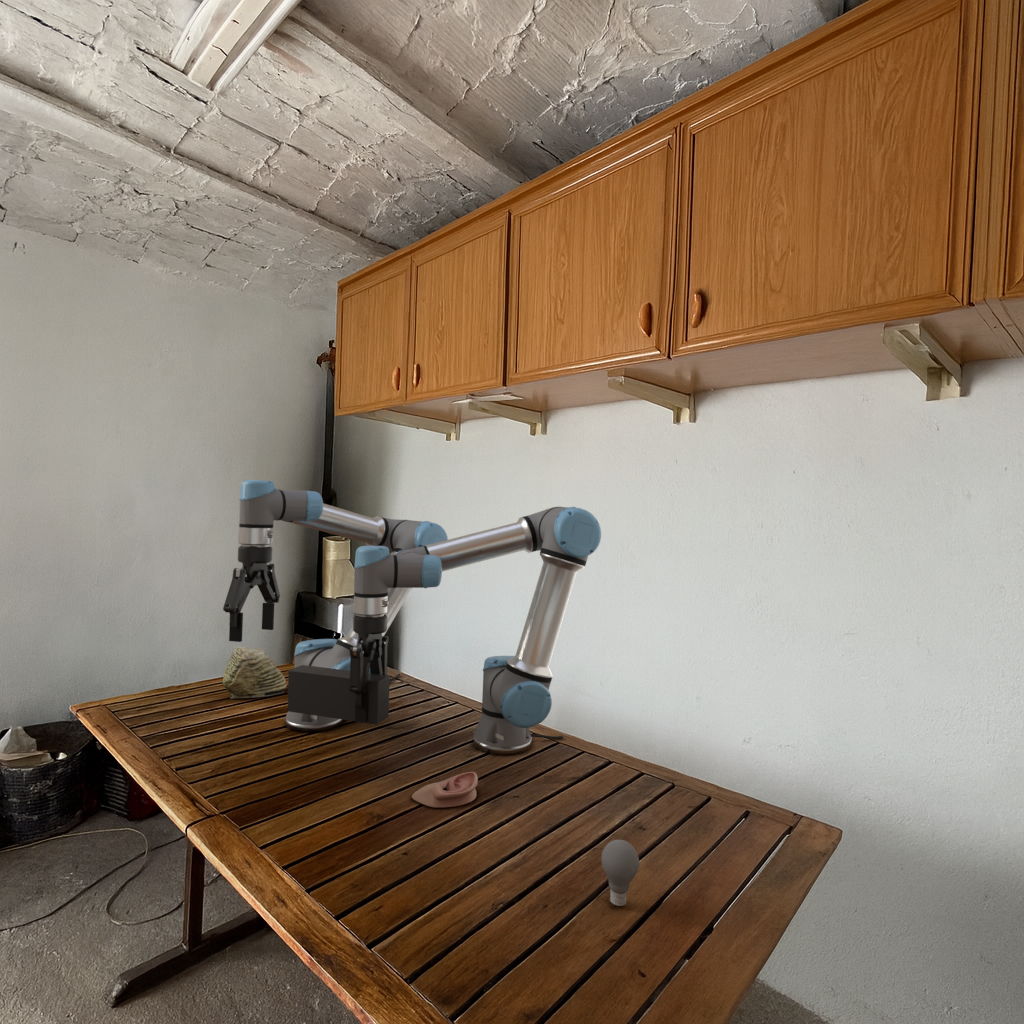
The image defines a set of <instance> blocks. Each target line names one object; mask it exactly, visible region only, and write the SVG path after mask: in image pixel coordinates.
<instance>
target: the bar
mask: <svg viewBox="0 0 1024 1024" xmlns="http://www.w3.org/2000/svg"><path fill="white" fill-rule="evenodd" d="M389 680H390V675H388V674H387V675H380V674H372V673H369V674H368V681H367V687H366V692H368V717H367V721H366V722H362V721H355V695H356V694H355V692H351V691H350V690H349V686H350V671H348V670H339V669H331V668H323V667H315V666H307V665H301V666H299V667H296V668H292V669H289V670H288V682H287V712H288V711H289V712H296V713H302V714H309V715H316V716H323V717H329V718H336V719H343V721H349V722H350V721H351V722H356V723H363V724H371V725H379V724H380V723H382V722H383V721H384V720H386V719H388V718H389V715H390V712H389V711H390V682H389Z"/></svg>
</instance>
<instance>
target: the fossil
mask: <svg viewBox="0 0 1024 1024" xmlns="http://www.w3.org/2000/svg"><path fill="white" fill-rule="evenodd" d="M222 676H223V677H222V685H223V687H224V688H225V690H226V691H228V693H229V698H230V699H250V698H264V697H271V696H275V695H281V694H284V693H285V691H286V689H287V688H288V684H287V680H286V678H285V676H284V674H283V673H282V672H281V669H279V668H278V667H277V665H276V663H275V662H274V660H273V659H272V658H271V657H270V656H269V655H268V654H267V653H266V652H265V650H264V649H263V648H260V647H258V648H251V647H247V646H246V647H245V646H238V647H237V648H236V649H235V650H233V651H232V653H231V656H230V657H229V659H228V660H227V663H226V666H225V668H224V671H223V675H222Z"/></svg>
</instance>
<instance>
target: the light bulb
mask: <svg viewBox="0 0 1024 1024" xmlns="http://www.w3.org/2000/svg"><path fill="white" fill-rule="evenodd" d="M600 858H601V861H600V862H601V866H602V869H603V871H604V873H605V875H606V877H607V879H608V886H609V888H610V897H609V901H610V902H611V904H613V905H614V906H618V907H622V906H625V905H626V904H627V896H628V895H627V893H628V891H629V889H630V885H631V882H632V880H633V879H634V878H635V876H636V875H637V874H638V870H639V868H640V858H639V854H638V852H637V850H636V848H635V847H634V846H633V845H632V844H631V843H630V842H628V841H627V840H624V839H613V840H612V841H609V842H608V843H607V844H606V845H605V847H604V848H603V850H602V852H601V857H600Z"/></svg>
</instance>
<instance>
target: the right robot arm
mask: <svg viewBox="0 0 1024 1024" xmlns="http://www.w3.org/2000/svg"><path fill="white" fill-rule="evenodd" d="M601 540H602V528H601V526H600V523H599V521H598V519H597V517H596V516H595V515H594V514H592V513H591V512H590V511H588V510H586V509H583V508H581V507H577V506H553V507H550V508H545V509H544V510H540V511H538V512H534V513H532V514H529V515H525V516H521V517H519V518H518V520H517V521H516V522H512V523H509V524H505V525H501V526H497V527H493V528H489V529H485V530H481V531H476V532H474V533H469V534H466V535H462V536H457V537H453V538H449V539H448V540H445V541H441V542H437V543H433V544H429V545H426V546H422V547H418V548H414V549H403V550H400V551H399V552H397V553H396V554H395V555H390V553H389V548H388V547H386V546H367V545H361V546H359V547H357V548H356V550H355V558H354V568H353V569H354V570H353V571H354V573H353V575H354V576H353V577H354V580H353V581H354V582H353V613H354V614H355V615H353V617H352V621H353V623H352V624H353V625H352V627H353V631H354V632H355V633H357V634H358V640H357V645H356V646H355V647H350V656H351V662H350V686H349V690H350V691H351V692H355V694H356V695H355V721H354V722H356V721H362V722H361V723H363V722H366V721H367V717H368V692H366V687H367V681H368V674H369V668H370V672H371V673H372V674H380V675H388V645H389V636H387V635H384V636H382V633H384V632H386V631H387V632H388V630H387V615H385V613H387V606H388V604H389V602H388V588H412V589H415V588H416V589H419V588H420V589H428V588H438V587H439V586H440V585H441V582H442V576H443V572H446V571H451V570H454V569H457V568H461V567H466V566H469V565H473V564H477V563H481V562H484V561H488V560H492V559H496V558H499V557H503V556H507V555H511V554H515V553H519V552H522V551H524V552H527V553H529V554H531V553H533V552H534V553H535V552H538V551H539V556H540V558H541V560H542V565H541V570H540V573H539V575H538V578H537V582H536V586H535V590H534V593H533V596H532V598H531V603H530V606H529V609H528V613H527V615H526V619H525V622H524V626H523V628H522V629H523V630H522V633H521V636H520V639H519V642H518V646H517V649H516V653H515V655H494V656H488V657H486V658H485V659H484V661H483V668H482V672H483V673H482V675H483V676H482V695H481V696H482V698H481V715H480V717H479V720H478V722H477V725H476V728H475V731H474V733H473V745H474V747H475V748H476V749H478V750H479V751H482V752H485V753H488V754H492V755H503V756H505V755H516V754H521V753H525V752H527V751H529V749H530V748H531V747H532V738H540V739H548V740H549V739H550V740H561V739H563V738H564V736H563V735H556V736H555V735H554V736H553V735H545V734H538V733H537V734H535V733H531V730H530V728H534V727H536V726H538V725H539V724H541V723H542V722H544V721H545V719H547V717H548V716H549V714H550V712H551V709H552V704H553V701H552V695H551V692H550V687H551V683H552V680H553V678H554V677H553V676H554V675H553V673H552V670H551V669H550V665H551V660H552V657H553V654H554V651H555V648H556V645H557V640H558V638H559V634H560V631H561V628H562V623H563V620H564V617H565V614H566V610H567V607H568V603H569V600H570V597H571V593H572V590H573V587H574V583H575V580H576V577H577V574H578V572H581V570H584V569H585V568H586V565H587V562H588V558H589V556H591V555H592V554H593V553H595V552H596V551H597V549H598V547H599V546H600V543H601ZM387 632H386V633H387ZM363 656H364V657H363ZM366 657H368V658H366Z"/></svg>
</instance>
